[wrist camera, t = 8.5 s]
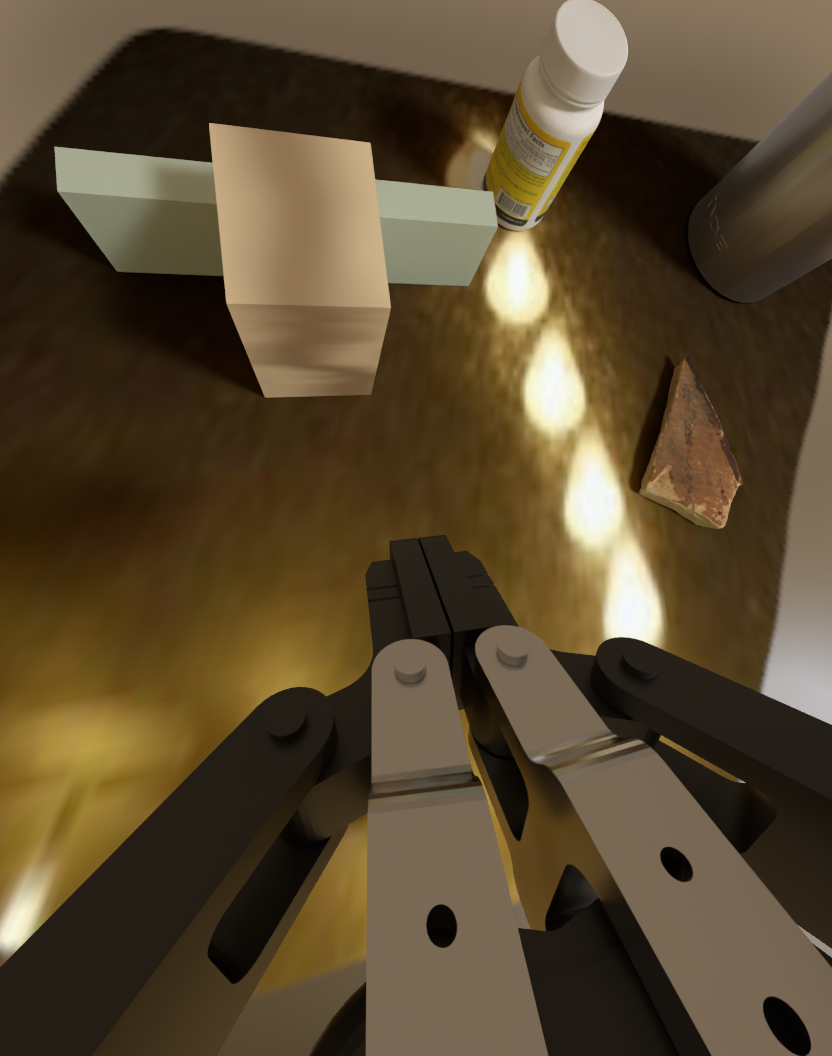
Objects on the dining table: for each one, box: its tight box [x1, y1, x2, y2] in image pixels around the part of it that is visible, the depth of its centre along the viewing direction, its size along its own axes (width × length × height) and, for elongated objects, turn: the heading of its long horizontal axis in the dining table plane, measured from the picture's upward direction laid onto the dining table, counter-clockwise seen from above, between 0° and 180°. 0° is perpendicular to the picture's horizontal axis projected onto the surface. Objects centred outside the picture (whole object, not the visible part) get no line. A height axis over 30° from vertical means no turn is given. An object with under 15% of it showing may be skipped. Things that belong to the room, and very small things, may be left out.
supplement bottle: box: [481, 0, 628, 231], centre depth 22 cm, size 5×5×8 cm
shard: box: [639, 355, 743, 529], centre depth 27 cm, size 11×8×2 cm
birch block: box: [209, 123, 391, 397], centre depth 18 cm, size 6×7×8 cm
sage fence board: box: [55, 147, 498, 286], centre depth 20 cm, size 20×2×4 cm, turn 98°
